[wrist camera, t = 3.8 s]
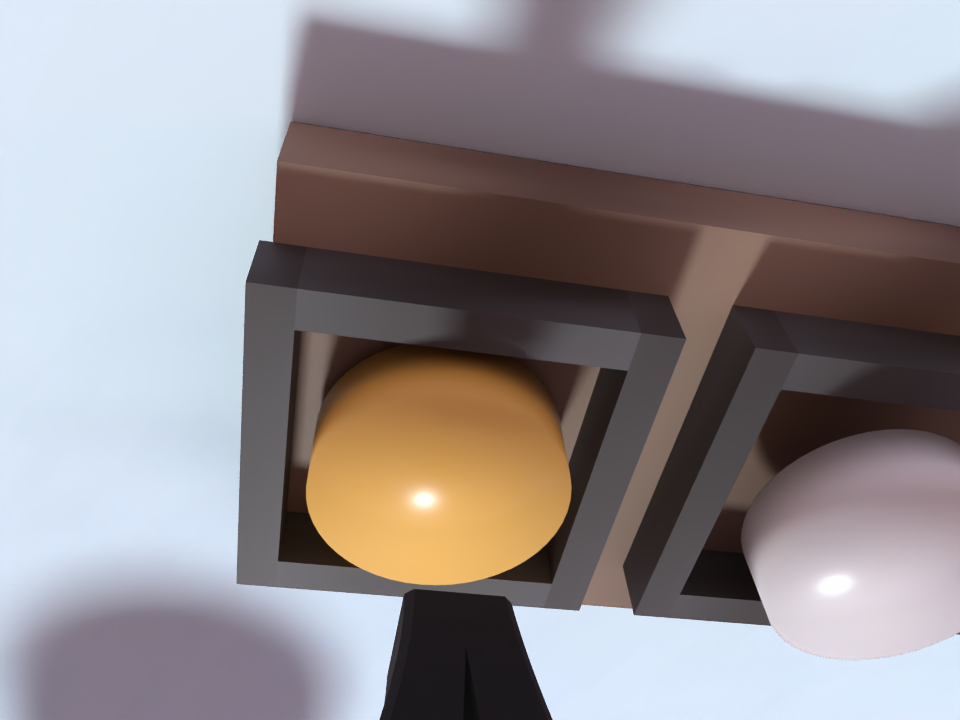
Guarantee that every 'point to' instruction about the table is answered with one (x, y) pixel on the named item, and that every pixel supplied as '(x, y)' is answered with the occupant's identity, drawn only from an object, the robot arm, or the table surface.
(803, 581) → the pale pink button
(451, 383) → the amber button
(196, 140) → the table surface
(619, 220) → the button panel
